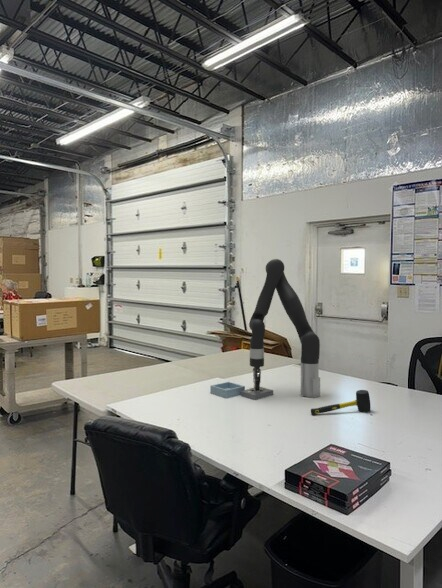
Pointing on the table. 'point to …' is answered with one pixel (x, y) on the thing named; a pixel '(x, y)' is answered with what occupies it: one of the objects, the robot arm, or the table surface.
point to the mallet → (348, 404)
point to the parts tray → (227, 389)
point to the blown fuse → (254, 385)
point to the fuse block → (254, 395)
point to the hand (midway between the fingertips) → (256, 389)
